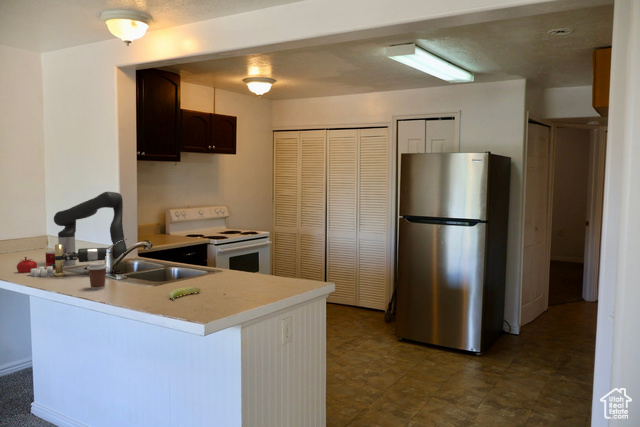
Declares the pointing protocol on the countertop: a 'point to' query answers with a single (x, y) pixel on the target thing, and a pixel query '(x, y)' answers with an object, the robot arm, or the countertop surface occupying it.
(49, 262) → the canned food
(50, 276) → the walnut pad
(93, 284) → the coffee cup
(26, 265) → the red tomato
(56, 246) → the gold tall tapered cylinder
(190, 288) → the green caterpillar
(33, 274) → the mat
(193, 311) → the countertop surface
